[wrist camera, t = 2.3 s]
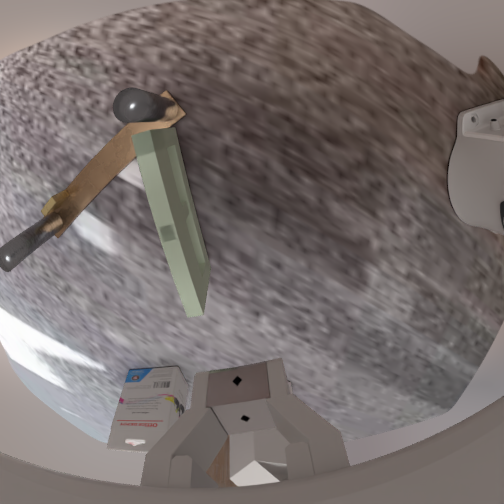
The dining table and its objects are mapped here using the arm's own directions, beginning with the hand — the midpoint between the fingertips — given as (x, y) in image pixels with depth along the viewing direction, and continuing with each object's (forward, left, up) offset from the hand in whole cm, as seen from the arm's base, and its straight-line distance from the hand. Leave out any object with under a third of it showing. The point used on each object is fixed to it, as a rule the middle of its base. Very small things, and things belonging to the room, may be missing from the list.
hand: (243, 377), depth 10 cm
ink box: (+26, +14, -23) cm, 38 cm away
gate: (+4, -3, -22) cm, 22 cm away
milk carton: (+15, +25, -23) cm, 37 cm away
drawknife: (+9, -12, -23) cm, 28 cm away
